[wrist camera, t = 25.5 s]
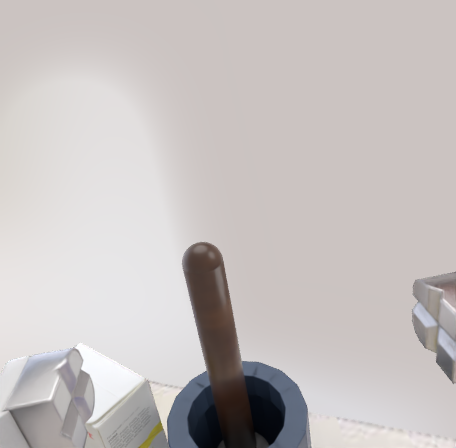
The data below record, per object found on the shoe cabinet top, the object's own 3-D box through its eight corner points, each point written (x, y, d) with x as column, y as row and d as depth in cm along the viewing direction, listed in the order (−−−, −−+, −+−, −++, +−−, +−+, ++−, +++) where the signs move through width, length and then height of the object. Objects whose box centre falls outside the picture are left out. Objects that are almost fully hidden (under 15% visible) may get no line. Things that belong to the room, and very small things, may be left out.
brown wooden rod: (280, 475, 32) (242, 225, 23) (275, 531, 29) (228, 264, 19) (231, 469, 33) (175, 228, 24) (220, 523, 30) (149, 265, 20)
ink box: (184, 481, 34) (151, 375, 29) (140, 538, 30) (94, 430, 25) (117, 434, 39) (79, 338, 34) (73, 479, 35) (23, 379, 30)
